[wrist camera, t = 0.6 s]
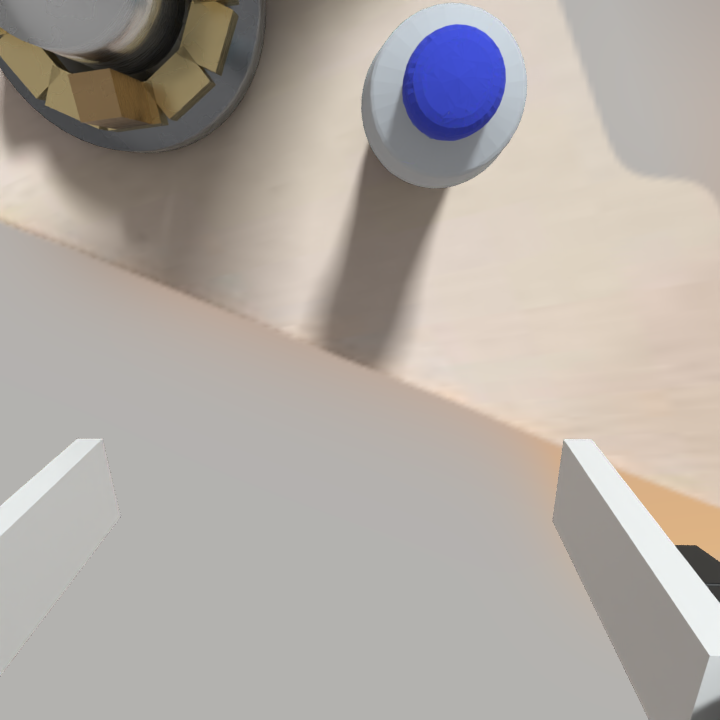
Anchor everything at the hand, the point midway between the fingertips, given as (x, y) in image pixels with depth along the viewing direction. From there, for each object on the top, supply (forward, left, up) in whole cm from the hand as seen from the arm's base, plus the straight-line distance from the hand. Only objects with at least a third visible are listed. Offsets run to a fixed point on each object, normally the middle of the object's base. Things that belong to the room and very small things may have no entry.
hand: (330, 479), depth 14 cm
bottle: (-11, +5, -26) cm, 28 cm away
